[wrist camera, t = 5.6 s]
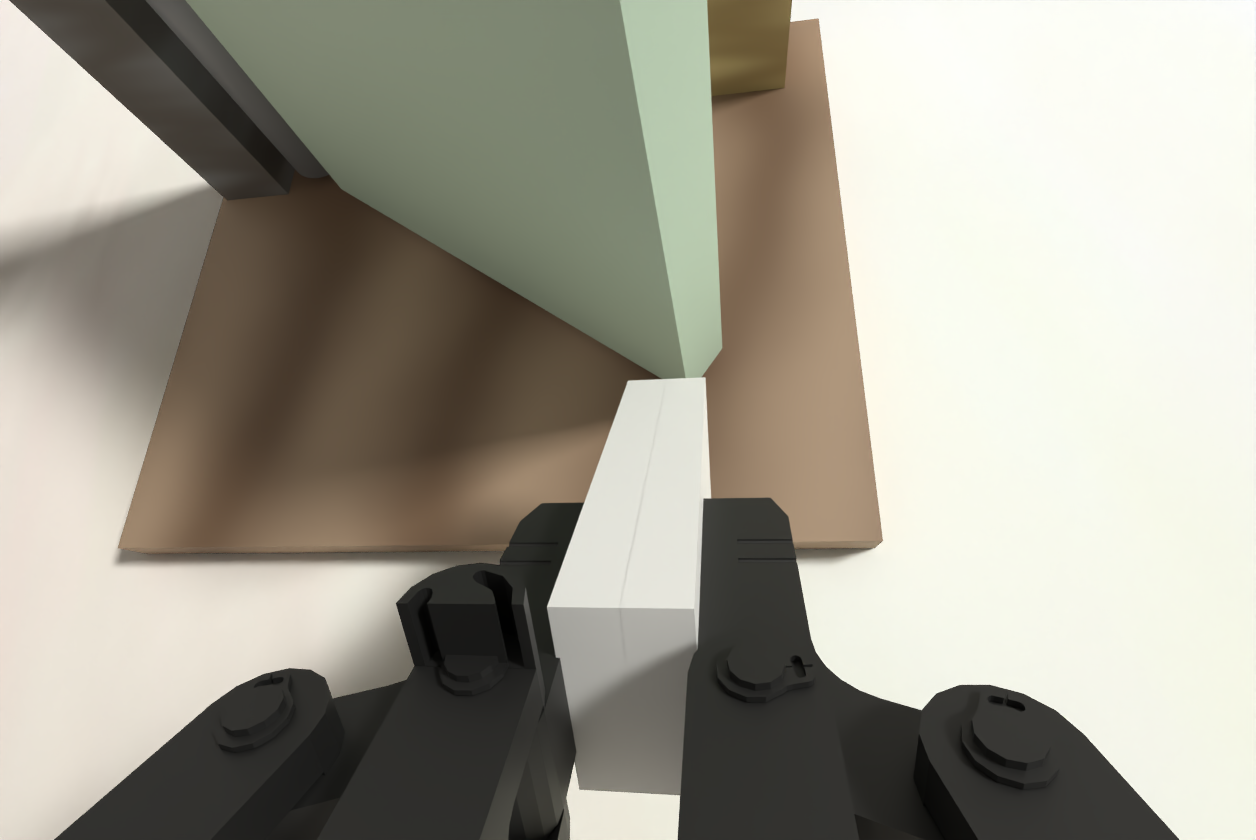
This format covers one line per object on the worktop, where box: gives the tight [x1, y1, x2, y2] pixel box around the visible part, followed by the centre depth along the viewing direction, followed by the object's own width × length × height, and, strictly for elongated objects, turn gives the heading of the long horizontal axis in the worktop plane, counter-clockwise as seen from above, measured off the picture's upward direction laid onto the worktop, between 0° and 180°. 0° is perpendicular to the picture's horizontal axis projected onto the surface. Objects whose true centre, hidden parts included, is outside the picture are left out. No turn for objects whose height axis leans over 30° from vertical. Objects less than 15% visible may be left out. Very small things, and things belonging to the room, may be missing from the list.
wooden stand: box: [9, 0, 883, 554], centre depth 15 cm, size 21×18×13 cm
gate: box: [146, 0, 722, 379], centre depth 15 cm, size 17×2×11 cm, turn 54°
